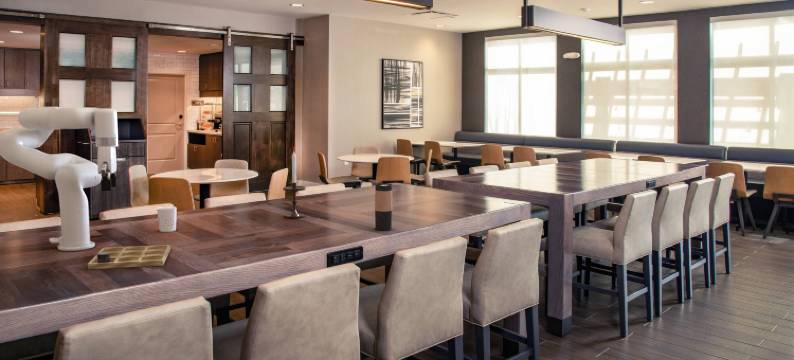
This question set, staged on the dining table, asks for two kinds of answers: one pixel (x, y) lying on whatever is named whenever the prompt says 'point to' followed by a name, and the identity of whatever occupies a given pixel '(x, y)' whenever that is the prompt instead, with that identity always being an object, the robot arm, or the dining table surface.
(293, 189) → the candlestick
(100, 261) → the metal cylinder
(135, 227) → the dining table surface
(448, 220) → the dining table surface
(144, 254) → the board
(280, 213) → the dining table surface
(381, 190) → the travel mug
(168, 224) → the white cup
